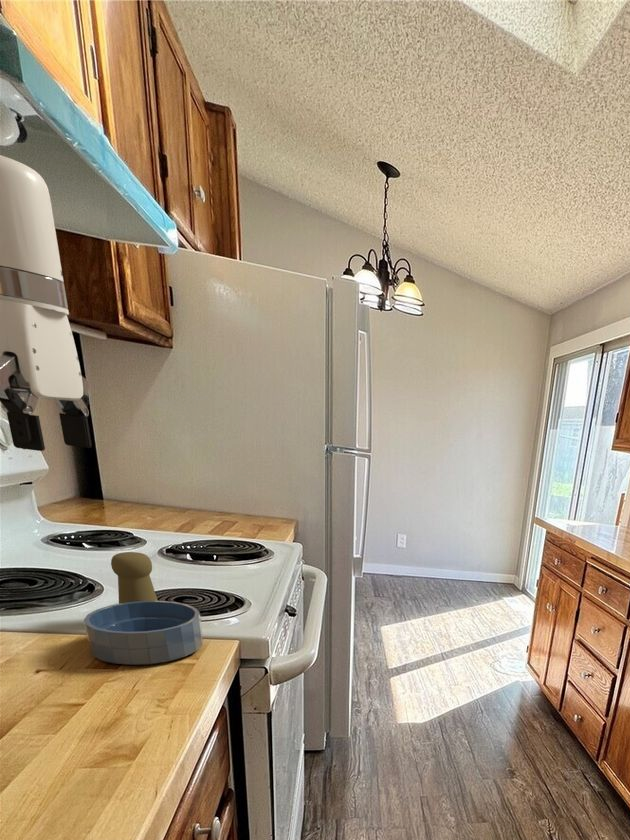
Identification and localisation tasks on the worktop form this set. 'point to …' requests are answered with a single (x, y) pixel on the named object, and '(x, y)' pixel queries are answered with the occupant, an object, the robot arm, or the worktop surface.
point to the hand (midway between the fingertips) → (55, 447)
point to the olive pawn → (133, 577)
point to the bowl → (144, 632)
